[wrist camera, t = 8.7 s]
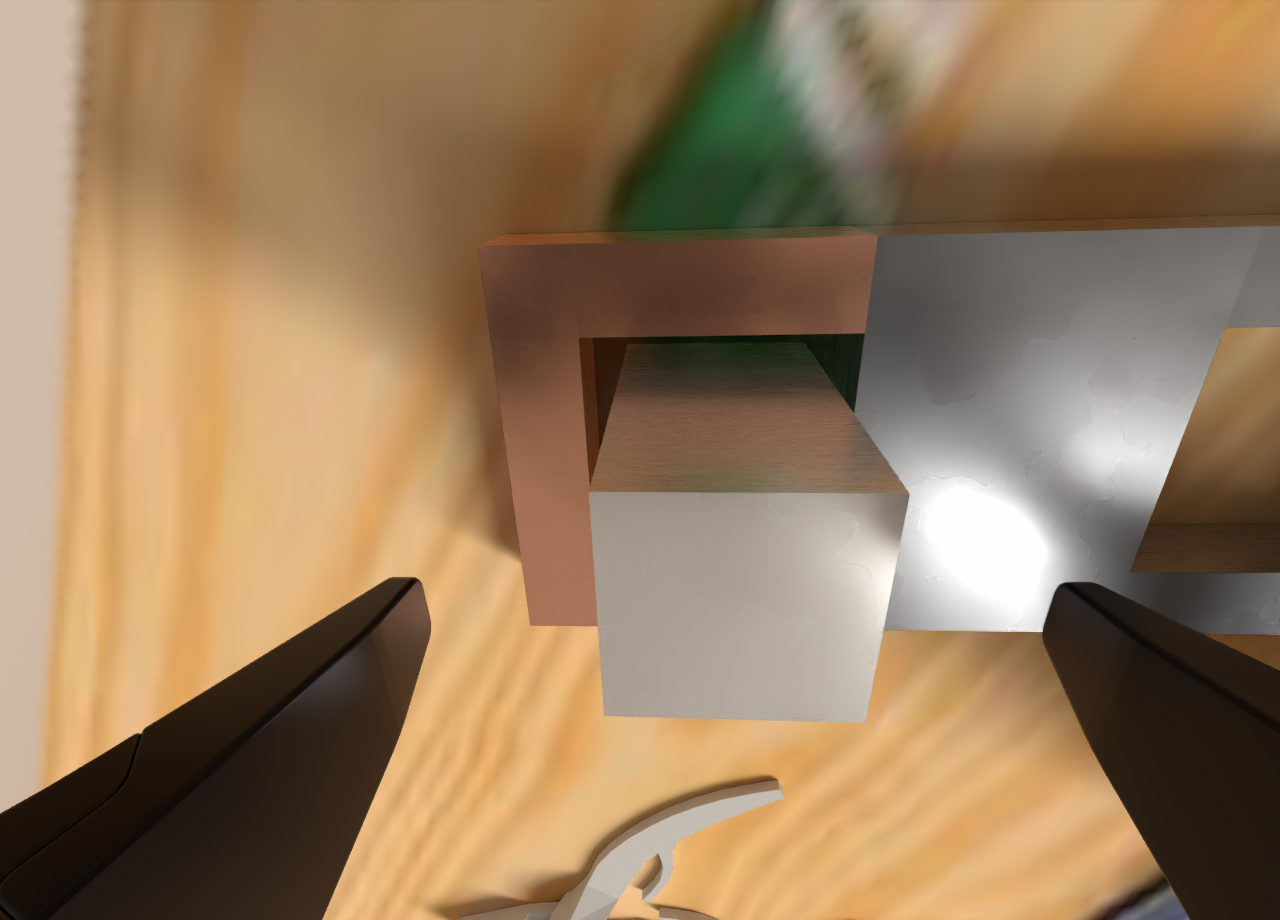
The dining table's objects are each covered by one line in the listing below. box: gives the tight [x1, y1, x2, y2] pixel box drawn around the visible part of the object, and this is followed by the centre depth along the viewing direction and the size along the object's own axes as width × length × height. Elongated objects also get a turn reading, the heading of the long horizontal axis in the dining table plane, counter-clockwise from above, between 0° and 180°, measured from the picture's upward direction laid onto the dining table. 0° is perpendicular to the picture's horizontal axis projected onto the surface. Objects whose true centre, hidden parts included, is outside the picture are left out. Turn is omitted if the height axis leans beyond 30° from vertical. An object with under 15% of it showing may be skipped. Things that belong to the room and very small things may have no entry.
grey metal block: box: [589, 342, 910, 723], centre depth 12 cm, size 4×4×7 cm
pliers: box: [459, 780, 785, 920], centre depth 23 cm, size 10×2×15 cm
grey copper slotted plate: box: [478, 214, 1280, 635], centre depth 14 cm, size 21×9×2 cm, turn 92°
